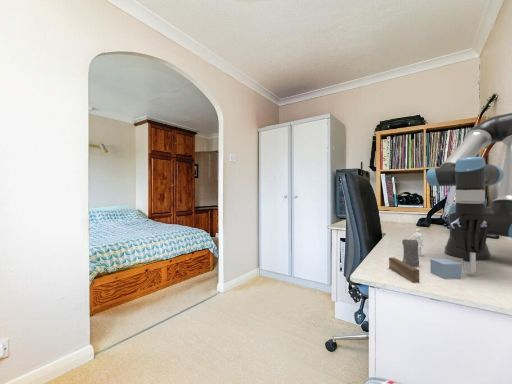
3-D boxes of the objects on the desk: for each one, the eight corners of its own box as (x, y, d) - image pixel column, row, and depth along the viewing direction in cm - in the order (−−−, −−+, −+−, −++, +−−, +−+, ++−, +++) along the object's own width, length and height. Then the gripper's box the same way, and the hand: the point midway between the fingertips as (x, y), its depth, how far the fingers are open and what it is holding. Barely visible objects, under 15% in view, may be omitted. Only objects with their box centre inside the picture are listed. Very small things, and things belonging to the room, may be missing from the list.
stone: (420, 267, 90) (420, 241, 90) (403, 265, 92) (403, 240, 92) (417, 264, 94) (418, 239, 93) (400, 263, 95) (401, 238, 95)
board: (394, 267, 90) (394, 257, 90) (419, 282, 76) (419, 270, 76) (389, 268, 90) (389, 257, 90) (413, 282, 76) (413, 270, 76)
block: (447, 272, 85) (447, 258, 85) (461, 278, 79) (461, 264, 79) (430, 272, 85) (430, 258, 85) (443, 279, 79) (443, 264, 79)
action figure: (425, 255, 105) (424, 229, 105) (421, 257, 103) (421, 229, 103) (409, 252, 110) (408, 227, 110) (405, 254, 108) (405, 228, 108)
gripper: (478, 201, 85) (478, 267, 85) (442, 202, 85) (442, 267, 85) (500, 202, 77) (500, 274, 78) (459, 203, 78) (460, 274, 78)
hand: (469, 270), depth 81 cm, fingers closed
